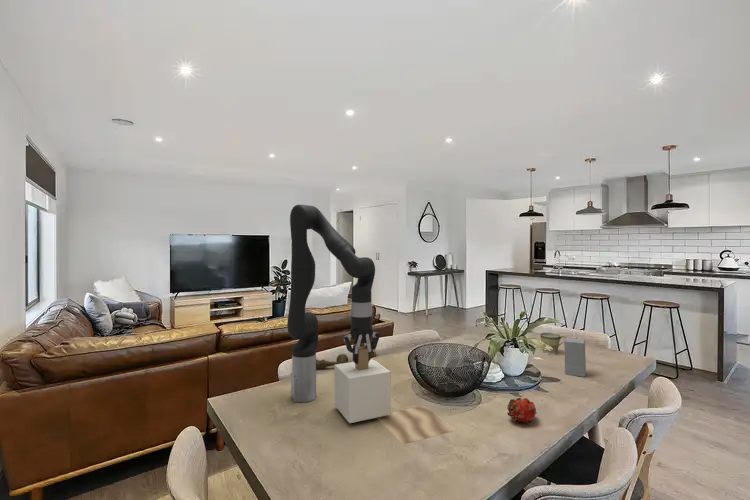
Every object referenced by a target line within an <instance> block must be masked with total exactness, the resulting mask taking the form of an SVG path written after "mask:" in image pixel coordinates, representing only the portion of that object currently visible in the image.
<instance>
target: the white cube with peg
mask: <svg viewBox="0 0 750 500" xmlns="http://www.w3.org/2000/svg"><path fill="white" fill-rule="evenodd" d="M348 362H349V363H342V364H336V365H333V366H334V367H333V368H334V406H335V407H336V409H337V410H338V411H339V412H340V414H342V416H343V417H344V419H345V420H346V421H347V423H348V424H352V423H357V422H362V421H367V420H372V419H377V418H376V417H381V416H386V415H390V414H391V413H392V383H391V381H392V373H391V372H392V371H391V370H389V369H387V368H386V367H384V366H383V365H382V364H380V363H379V362H378V361H376V360H374V359H373V358H371V360H370V361H369V359H368V348H366V347H365V346H360V347H359V349H358V364H355V363H354V362H353V361H348Z"/></svg>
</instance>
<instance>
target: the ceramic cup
mask: <svg viewBox="0 0 750 500" xmlns="http://www.w3.org/2000/svg"><path fill="white" fill-rule="evenodd" d="M563 338H564V340H563V341H561V339H563ZM566 338H567V337H565V336H563V335H561V334H559V333H555V332H542V333H540V341H541V342H542V341H543V342H544V343H545V344H547V345H549V346H551V347H552V348H553V350H552V351H549V350H543V349H542V350H543V354H545V353H548V354H547V355H549V354H555V355H558V352H559V347H560V346H561V345H562V344H564V341H565V339H566Z"/></svg>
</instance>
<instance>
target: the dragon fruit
mask: <svg viewBox="0 0 750 500" xmlns="http://www.w3.org/2000/svg"><path fill="white" fill-rule="evenodd" d="M507 411H508V412H507V416H508V417H511V420H512V421H515V422H516V423H520V422H522V423H524V424H526V425H528V424H530V423H529V422H532V420H533V419H534V418H535V417H536V414H538V413H537V409H536V405H535V402H533V401H530V400H529V398H528V397H524V398H521V397H516V399H514V398H513V399H510V400H509V402H508V404H507Z"/></svg>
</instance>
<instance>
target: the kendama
mask: <svg viewBox="0 0 750 500" xmlns="http://www.w3.org/2000/svg"><path fill="white" fill-rule="evenodd" d="M349 362H350V361H349V357H348V356H347V354H345V353H341V354H339V355H337V357H336V361H328V360H326V359H324V358H323V359H320V360H318V359H316V370H318V369H325V368H327V367H333V366H334V365H336V364H342V363H349Z"/></svg>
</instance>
